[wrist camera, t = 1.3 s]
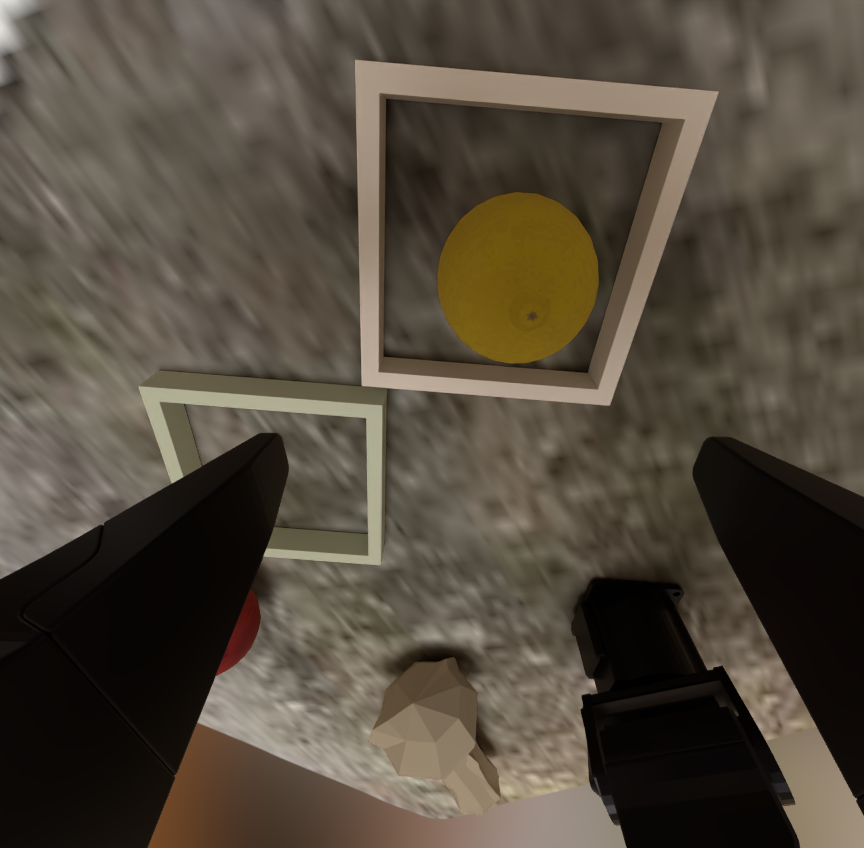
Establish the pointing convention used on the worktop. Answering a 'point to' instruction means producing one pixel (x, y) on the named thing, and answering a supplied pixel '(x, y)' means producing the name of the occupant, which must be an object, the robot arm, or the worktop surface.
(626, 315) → the bin
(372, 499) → the bin
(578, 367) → the worktop surface
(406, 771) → the faceted club
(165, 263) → the worktop surface
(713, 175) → the worktop surface
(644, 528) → the worktop surface
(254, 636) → the onion
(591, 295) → the lemon
